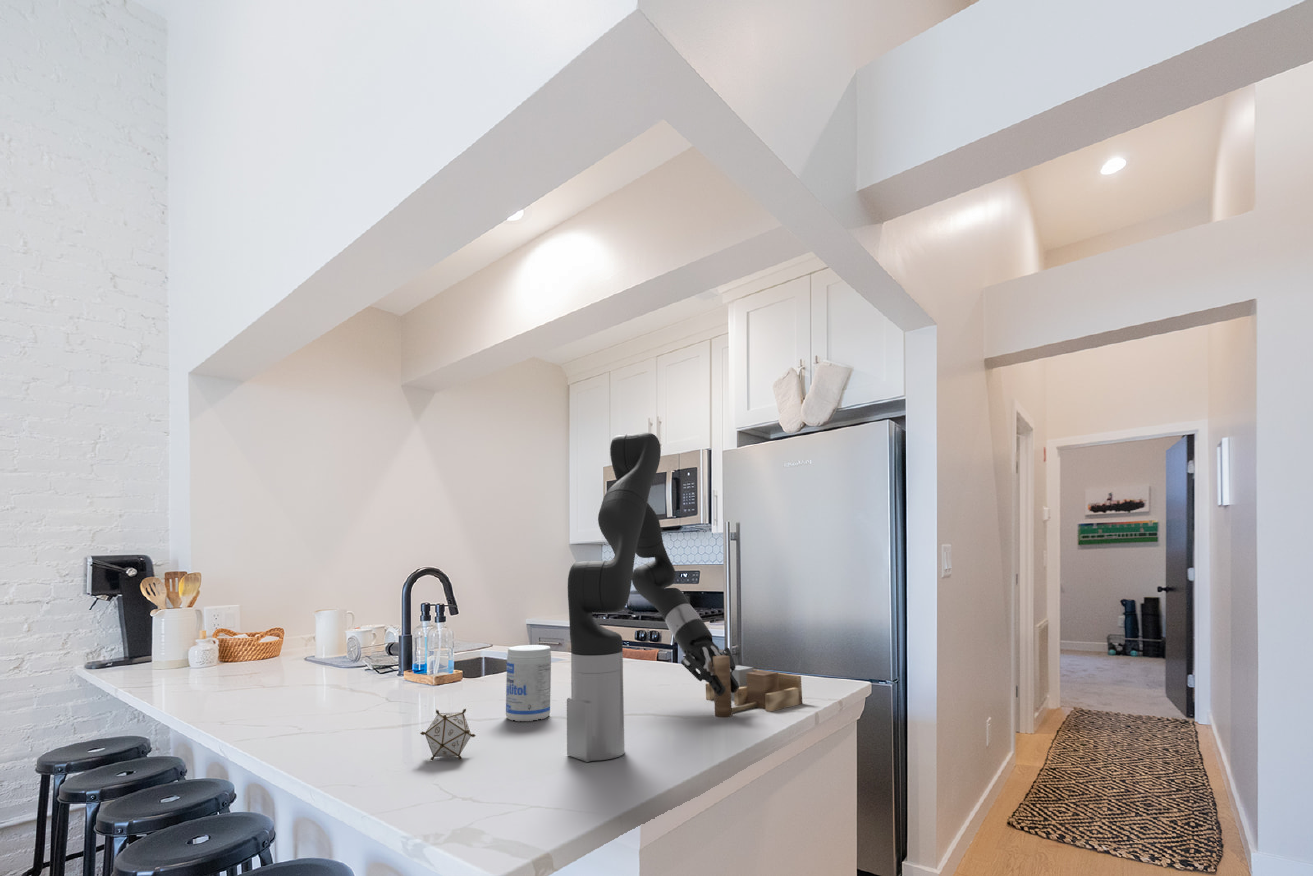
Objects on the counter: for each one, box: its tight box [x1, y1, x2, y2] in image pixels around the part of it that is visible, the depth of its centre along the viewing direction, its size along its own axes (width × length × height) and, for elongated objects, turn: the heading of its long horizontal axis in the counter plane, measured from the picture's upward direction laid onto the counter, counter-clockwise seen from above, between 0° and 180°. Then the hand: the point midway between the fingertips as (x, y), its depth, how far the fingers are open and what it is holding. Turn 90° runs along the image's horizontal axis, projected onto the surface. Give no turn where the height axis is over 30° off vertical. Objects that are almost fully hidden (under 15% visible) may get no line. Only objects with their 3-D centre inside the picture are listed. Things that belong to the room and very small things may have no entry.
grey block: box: [731, 664, 754, 701], centre depth 167 cm, size 5×5×7 cm
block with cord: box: [713, 655, 779, 718], centre depth 155 cm, size 17×5×12 cm, turn 130°
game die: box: [419, 708, 477, 761], centre depth 124 cm, size 9×8×10 cm
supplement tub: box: [505, 644, 552, 722], centre depth 154 cm, size 10×10×15 cm
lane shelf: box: [705, 668, 803, 712], centre depth 163 cm, size 11×20×6 cm, turn 40°
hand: (729, 691), depth 149 cm, fingers closed on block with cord, 3 cm apart
